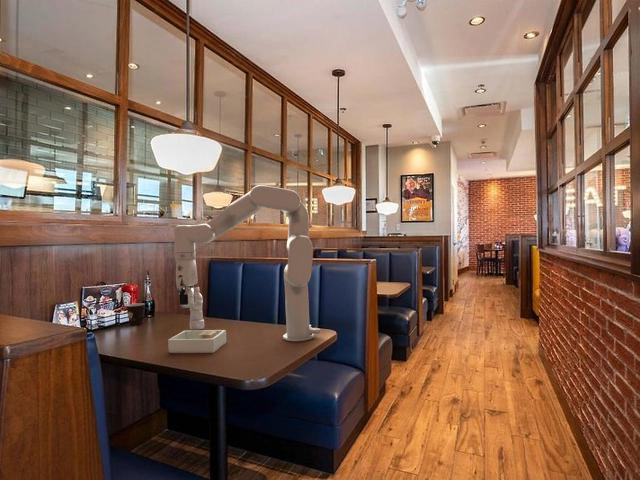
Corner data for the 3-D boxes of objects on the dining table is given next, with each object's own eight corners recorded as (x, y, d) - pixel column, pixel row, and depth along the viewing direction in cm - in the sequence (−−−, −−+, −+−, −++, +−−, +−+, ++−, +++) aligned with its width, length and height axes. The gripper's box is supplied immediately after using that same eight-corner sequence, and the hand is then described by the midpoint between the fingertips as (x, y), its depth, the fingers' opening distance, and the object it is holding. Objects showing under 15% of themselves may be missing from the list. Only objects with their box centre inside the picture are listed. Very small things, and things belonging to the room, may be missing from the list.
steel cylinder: (196, 305, 155) (195, 287, 155) (190, 307, 150) (190, 289, 150) (184, 305, 156) (183, 287, 156) (178, 307, 151) (177, 289, 151)
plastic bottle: (200, 332, 178) (198, 288, 178) (186, 331, 179) (184, 288, 179) (207, 328, 184) (205, 286, 184) (194, 328, 186) (192, 286, 185)
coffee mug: (125, 324, 200) (124, 305, 200) (142, 321, 206) (141, 302, 206) (132, 328, 191) (131, 307, 191) (150, 324, 197) (149, 304, 197)
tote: (226, 342, 159) (225, 330, 159) (213, 352, 145) (213, 339, 145) (184, 342, 161) (184, 330, 161) (168, 353, 147) (168, 339, 147)
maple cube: (217, 343, 155) (216, 331, 155) (212, 347, 150) (211, 334, 150) (204, 344, 155) (204, 331, 155) (199, 347, 150) (199, 334, 150)
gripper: (185, 258, 144) (187, 307, 144) (203, 255, 161) (205, 299, 161) (165, 258, 145) (167, 307, 145) (185, 255, 162) (187, 299, 162)
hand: (187, 302), depth 153 cm, fingers closed on steel cylinder, 5 cm apart
